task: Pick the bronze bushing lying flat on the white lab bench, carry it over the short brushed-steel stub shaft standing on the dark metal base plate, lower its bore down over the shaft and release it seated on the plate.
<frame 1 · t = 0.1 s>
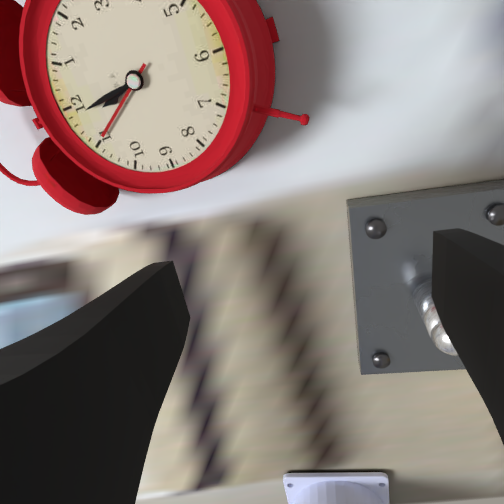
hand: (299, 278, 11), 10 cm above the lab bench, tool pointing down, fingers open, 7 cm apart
alarm clock: (136, 86, 19), on the lab bench
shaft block: (426, 282, 22), on the lab bench
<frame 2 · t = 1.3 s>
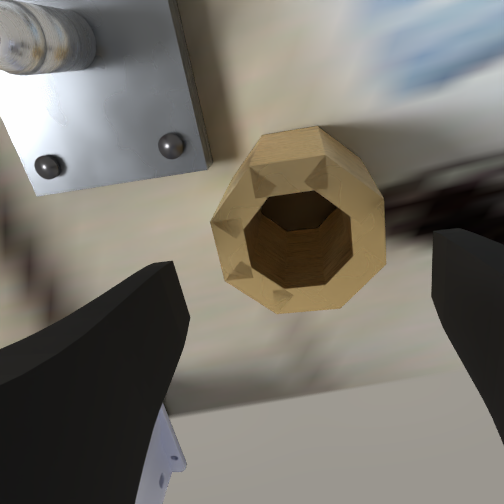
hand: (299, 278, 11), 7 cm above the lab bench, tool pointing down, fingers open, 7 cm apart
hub: (298, 194, 17), on the lab bench
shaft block: (85, 41, 15), on the lab bench
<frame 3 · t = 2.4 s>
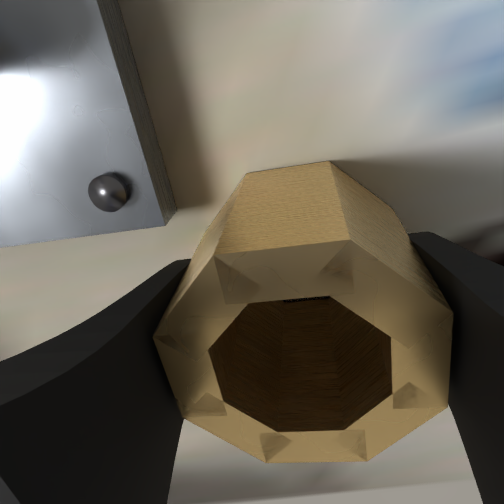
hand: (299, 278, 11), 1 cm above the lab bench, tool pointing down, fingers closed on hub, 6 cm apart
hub: (299, 254, 12), on the lab bench, touching gripper
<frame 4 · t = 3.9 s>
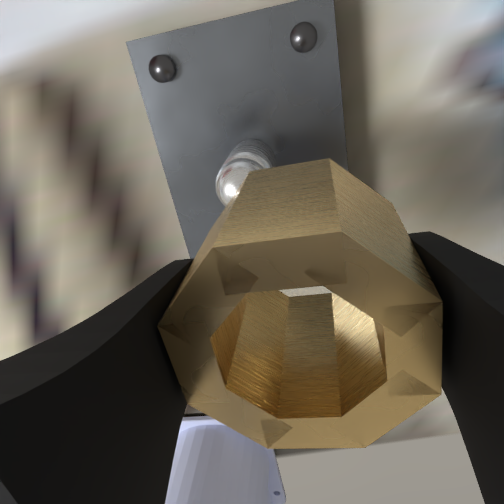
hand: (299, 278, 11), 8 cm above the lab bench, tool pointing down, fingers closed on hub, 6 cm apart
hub: (302, 249, 12), point 7 cm above the lab bench, touching gripper
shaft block: (255, 156, 18), on the lab bench
when the fingers open (3 cm above the lab bench, at t = 5.7 s): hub stays where it is, resting on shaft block.
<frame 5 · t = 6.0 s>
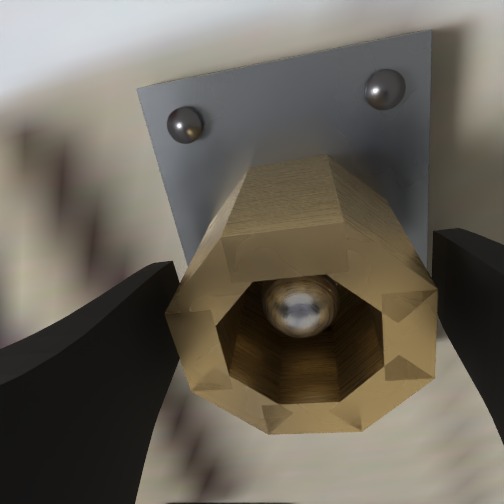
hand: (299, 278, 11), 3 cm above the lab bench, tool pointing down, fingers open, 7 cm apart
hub: (299, 244, 13), point 1 cm above the lab bench, touching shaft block
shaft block: (299, 228, 14), on the lab bench
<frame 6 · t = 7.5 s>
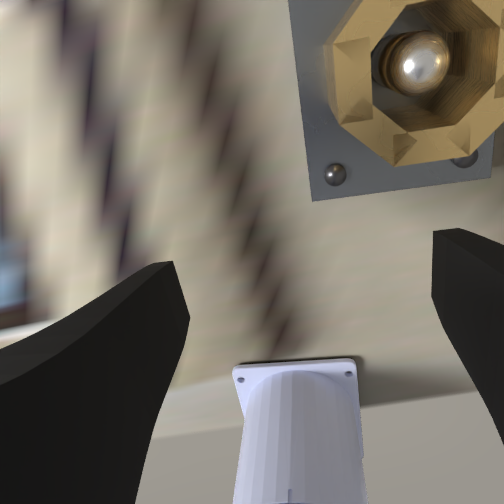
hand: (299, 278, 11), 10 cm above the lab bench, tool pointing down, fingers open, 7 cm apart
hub: (395, 62, 16), point 1 cm above the lab bench, touching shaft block
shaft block: (389, 60, 17), on the lab bench
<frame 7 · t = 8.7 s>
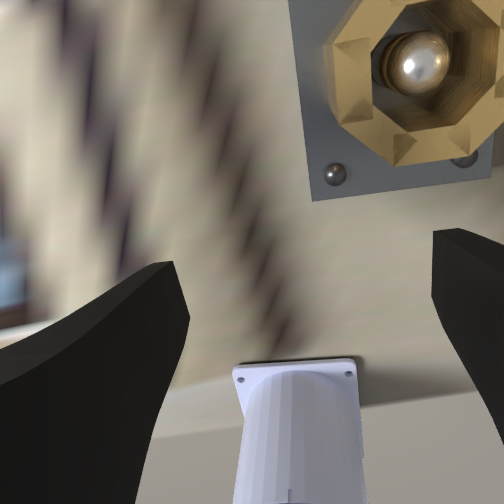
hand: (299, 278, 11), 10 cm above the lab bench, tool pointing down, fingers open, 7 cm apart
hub: (395, 62, 16), point 1 cm above the lab bench, touching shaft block
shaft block: (389, 60, 17), on the lab bench
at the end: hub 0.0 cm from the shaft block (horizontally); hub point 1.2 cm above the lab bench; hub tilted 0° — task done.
